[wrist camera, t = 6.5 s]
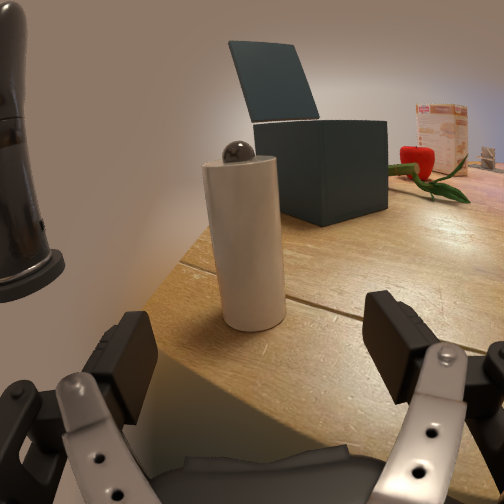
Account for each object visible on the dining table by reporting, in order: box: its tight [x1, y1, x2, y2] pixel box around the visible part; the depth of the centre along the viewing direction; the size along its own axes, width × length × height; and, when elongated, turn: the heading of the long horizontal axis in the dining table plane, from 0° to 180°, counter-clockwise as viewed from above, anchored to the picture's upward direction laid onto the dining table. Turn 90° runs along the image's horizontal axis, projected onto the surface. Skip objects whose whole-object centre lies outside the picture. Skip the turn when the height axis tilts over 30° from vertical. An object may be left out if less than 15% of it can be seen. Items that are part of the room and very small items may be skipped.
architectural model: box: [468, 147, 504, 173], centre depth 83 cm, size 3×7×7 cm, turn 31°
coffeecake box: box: [416, 104, 468, 176], centre depth 72 cm, size 15×7×20 cm, turn 17°
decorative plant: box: [388, 154, 470, 203], centre depth 55 cm, size 6×8×30 cm
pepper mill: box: [202, 141, 286, 332], centre depth 21 cm, size 5×5×12 cm
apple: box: [400, 146, 435, 180], centre depth 65 cm, size 9×9×8 cm
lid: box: [228, 41, 320, 123], centre depth 49 cm, size 16×14×1 cm
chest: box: [253, 120, 388, 227], centre depth 46 cm, size 16×14×13 cm
